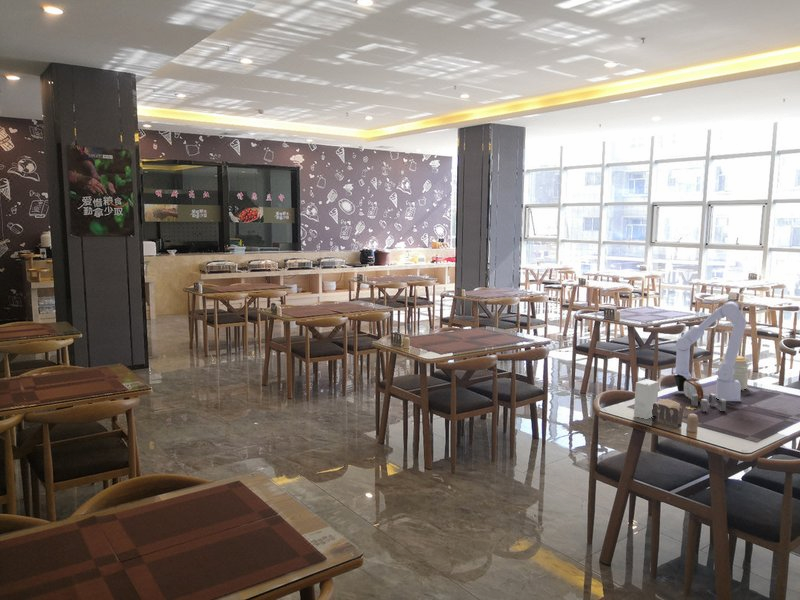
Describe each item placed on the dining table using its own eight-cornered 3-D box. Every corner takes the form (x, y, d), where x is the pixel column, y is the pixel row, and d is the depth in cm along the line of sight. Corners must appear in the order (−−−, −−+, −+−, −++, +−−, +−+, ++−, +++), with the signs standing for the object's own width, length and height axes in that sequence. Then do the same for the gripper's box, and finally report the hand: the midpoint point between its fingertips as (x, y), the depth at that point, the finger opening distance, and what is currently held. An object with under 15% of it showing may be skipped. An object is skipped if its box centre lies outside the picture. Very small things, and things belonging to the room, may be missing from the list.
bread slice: (703, 404, 273) (704, 385, 272) (696, 404, 273) (697, 385, 272) (688, 395, 288) (689, 377, 287) (681, 395, 288) (682, 377, 287)
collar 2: (722, 410, 264) (723, 398, 263) (725, 411, 262) (726, 400, 261) (700, 410, 264) (701, 398, 263) (702, 411, 262) (703, 400, 261)
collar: (712, 405, 272) (713, 393, 271) (715, 406, 270) (715, 394, 269) (691, 405, 272) (691, 393, 271) (693, 406, 270) (694, 395, 269)
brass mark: (693, 407, 269) (693, 406, 269) (697, 409, 265) (697, 408, 265) (683, 407, 269) (683, 406, 269) (688, 409, 265) (688, 408, 265)
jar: (724, 382, 311) (726, 348, 309) (752, 388, 301) (754, 352, 298) (712, 387, 303) (714, 351, 300) (740, 392, 293) (742, 355, 290)
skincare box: (643, 413, 260) (645, 378, 258) (657, 416, 255) (659, 381, 253) (632, 417, 255) (634, 381, 253) (646, 420, 250) (648, 384, 248)
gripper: (666, 359, 296) (665, 387, 298) (681, 366, 282) (679, 395, 284) (681, 359, 297) (679, 387, 298) (696, 366, 282) (695, 395, 284)
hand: (680, 391), depth 291 cm, fingers closed
